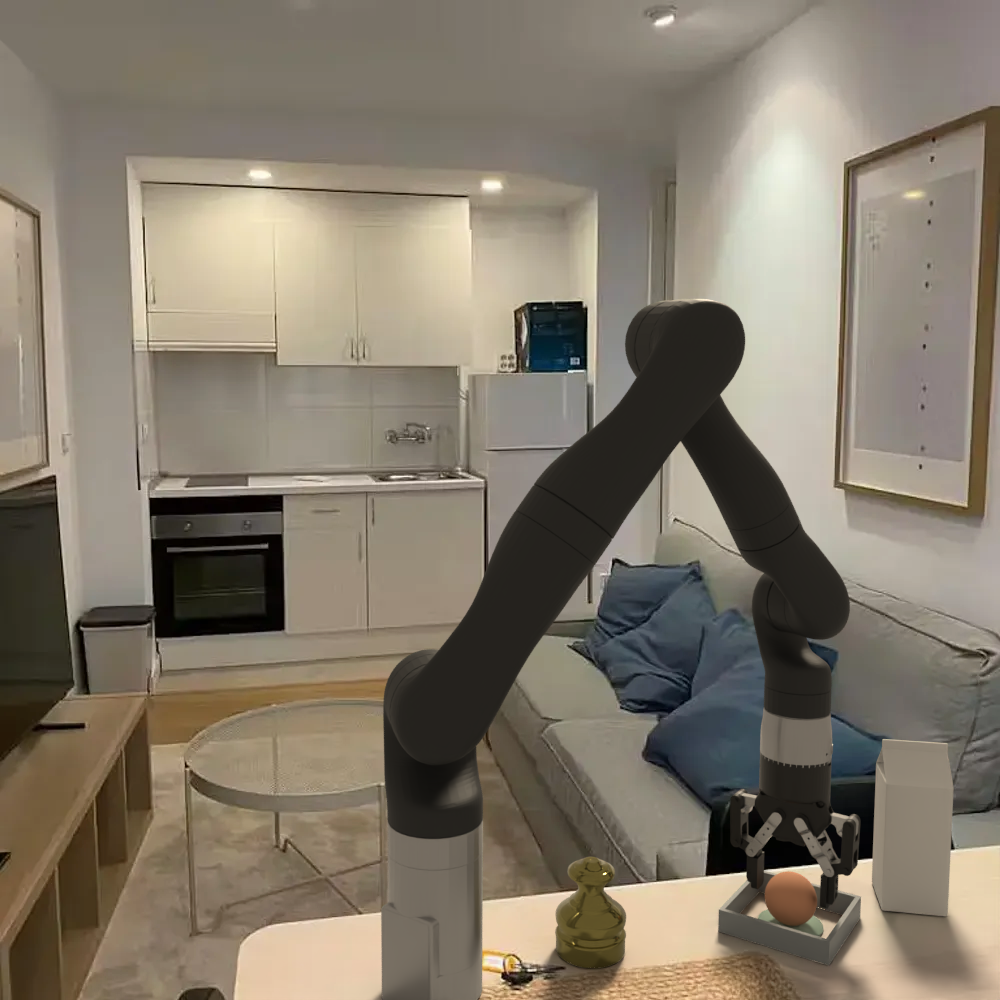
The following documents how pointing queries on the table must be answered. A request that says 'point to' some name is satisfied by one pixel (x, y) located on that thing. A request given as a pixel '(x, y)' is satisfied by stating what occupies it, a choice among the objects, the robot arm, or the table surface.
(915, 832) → the milk carton
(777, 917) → the ball
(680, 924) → the table surface
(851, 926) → the grey soap tray
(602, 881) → the olive green chess piece
